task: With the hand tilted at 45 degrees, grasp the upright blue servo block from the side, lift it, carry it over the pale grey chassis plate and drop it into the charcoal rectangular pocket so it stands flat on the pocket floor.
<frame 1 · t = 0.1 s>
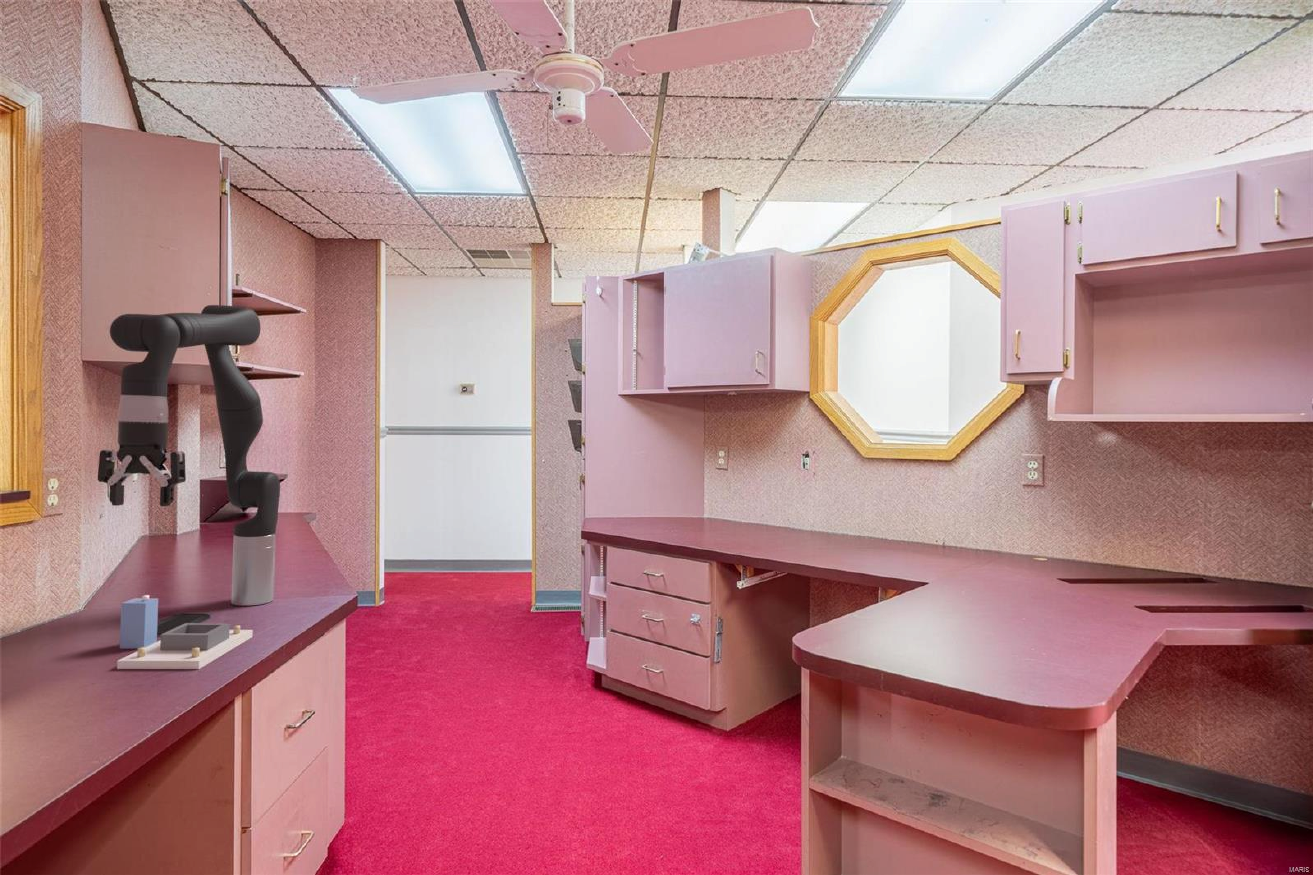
hand: (141, 505, 128), 29 cm above the counter, tool pointing down, fingers open, 8 cm apart
phone: (175, 628, 151), on the counter
servo: (138, 645, 137), on the counter
chassis: (190, 651, 134), on the counter
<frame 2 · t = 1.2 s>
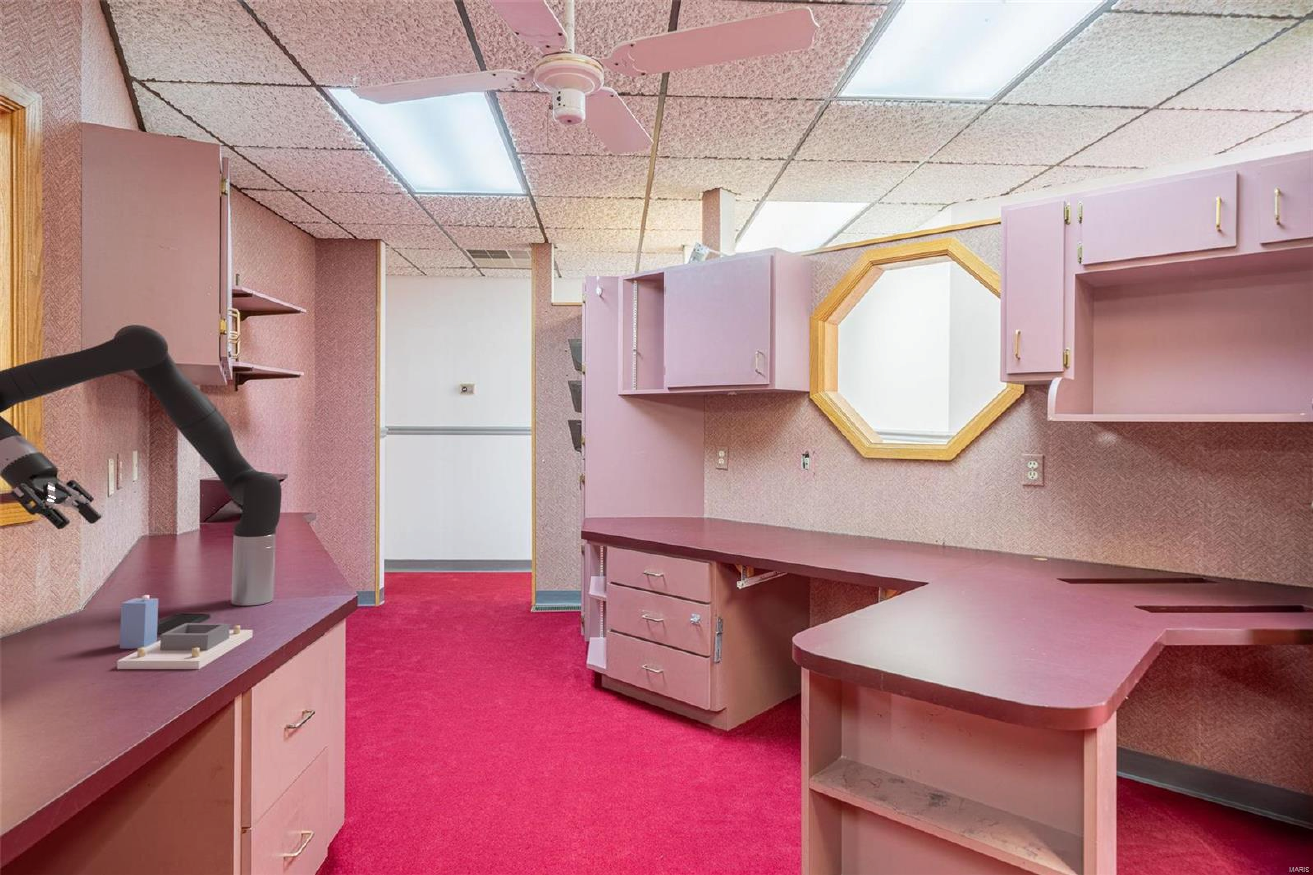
hand: (81, 523, 135), 24 cm above the counter, tool tilted 45°, fingers open, 8 cm apart
nothing on the counter moved.
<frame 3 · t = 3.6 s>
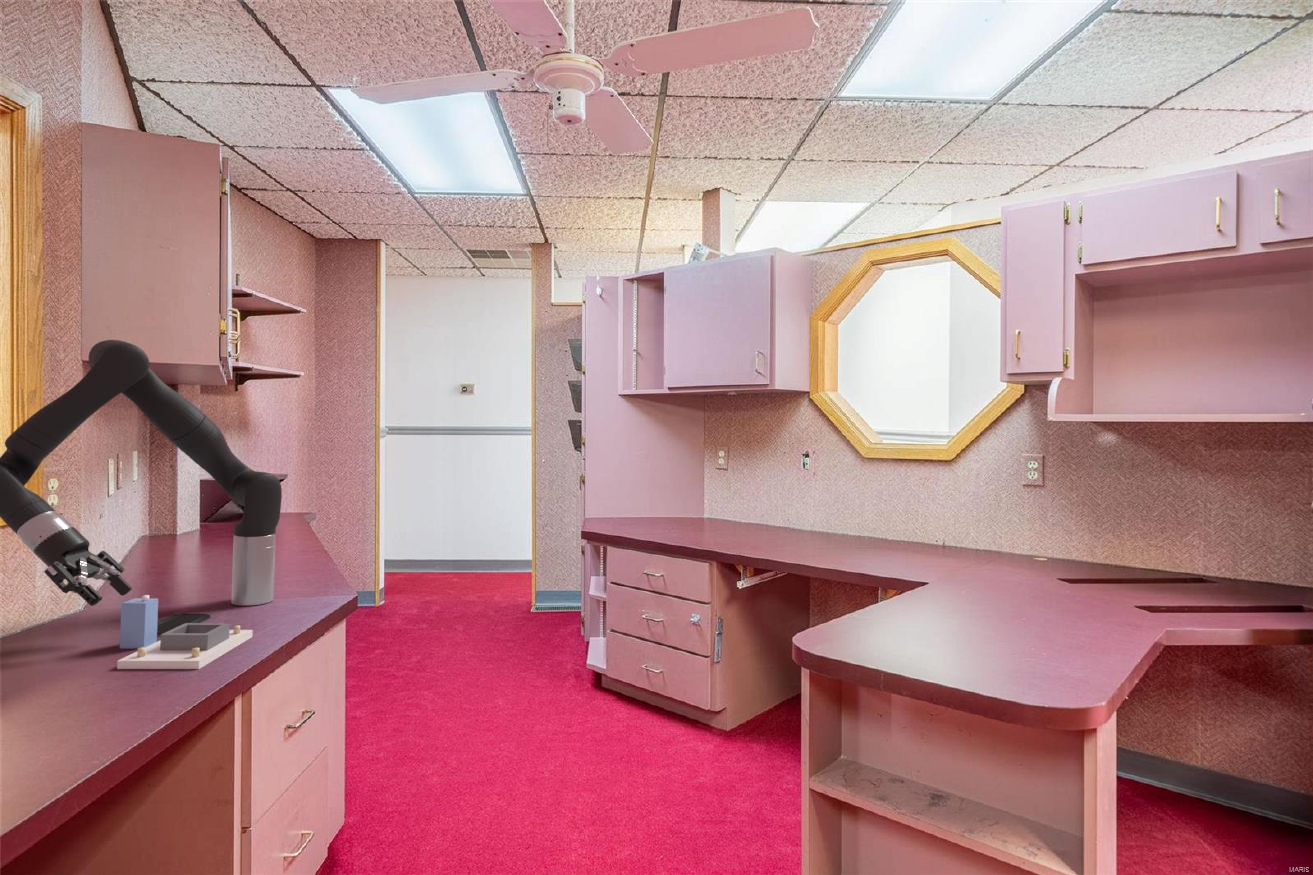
hand: (113, 597, 136), 10 cm above the counter, tool tilted 45°, fingers open, 8 cm apart
nothing on the counter moved.
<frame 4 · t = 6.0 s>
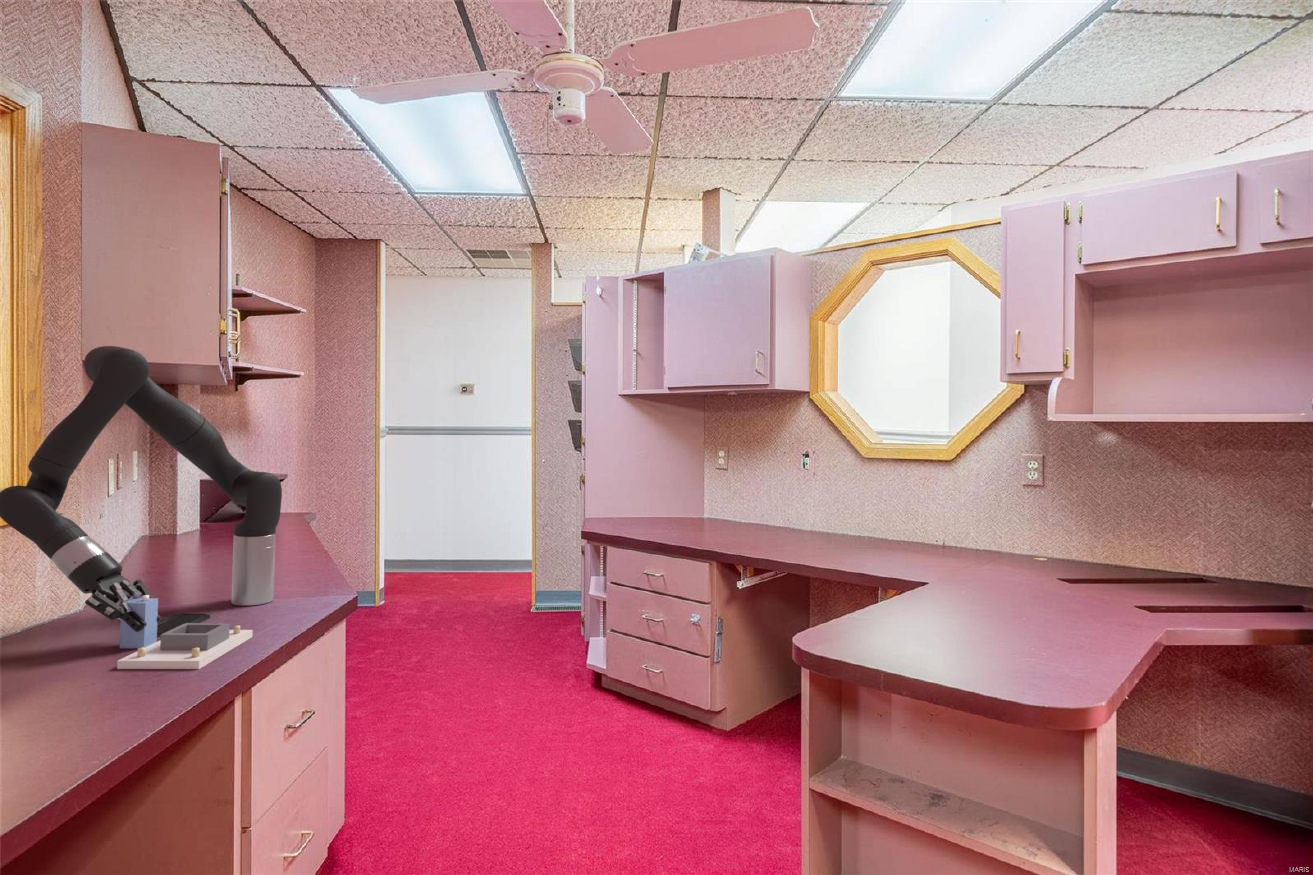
hand: (149, 625, 137), 4 cm above the counter, tool tilted 45°, fingers closed on servo, 4 cm apart
servo: (138, 645, 137), on the counter, touching gripper
everything else where it was.
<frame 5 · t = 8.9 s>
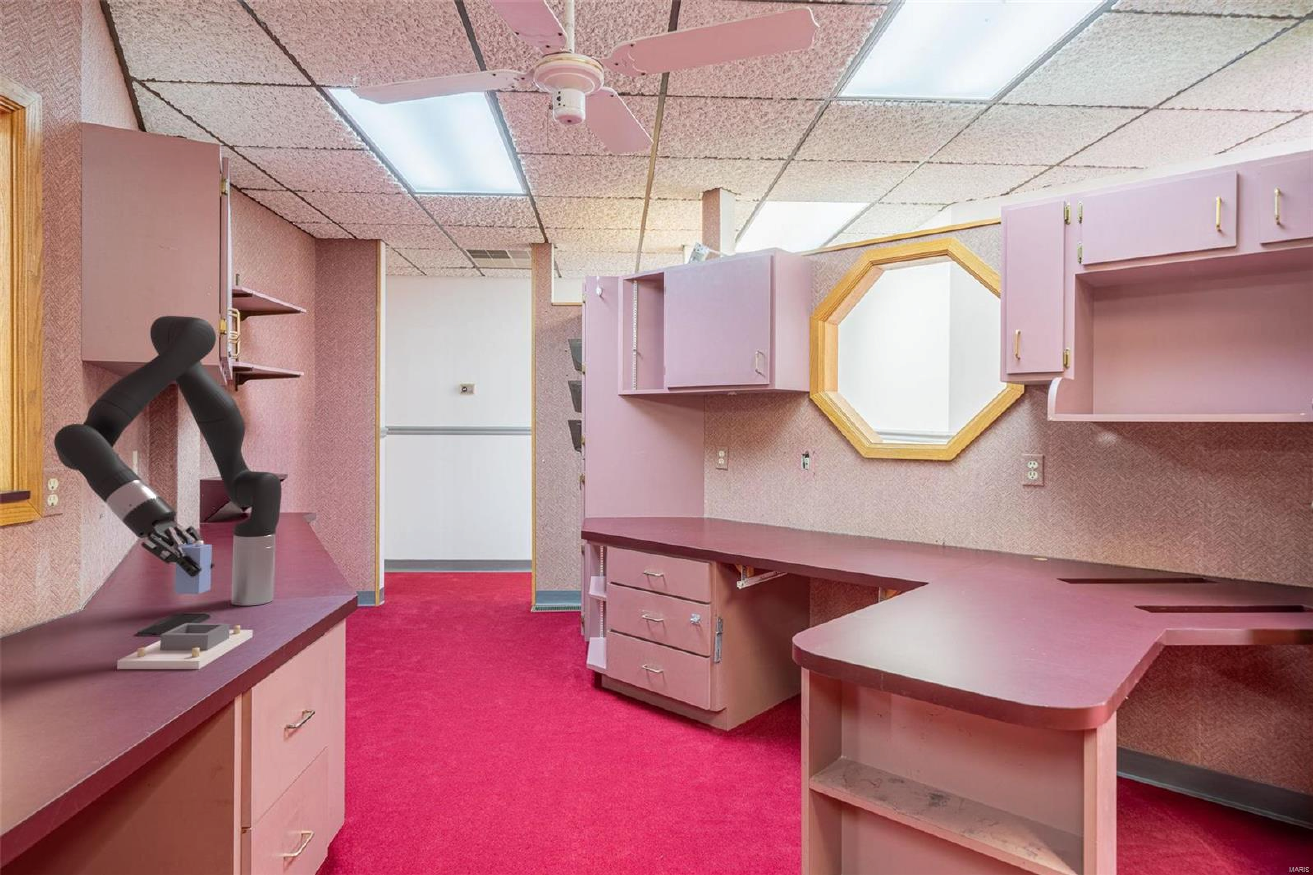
hand: (203, 571, 134), 16 cm above the counter, tool tilted 45°, fingers closed on servo, 4 cm apart
servo: (192, 591, 134), point 12 cm above the counter, touching gripper
everything else where it was.
when the fingers open (7 cm above the counter, at t = 12.0 s): servo drops 1 cm, resting on chassis.
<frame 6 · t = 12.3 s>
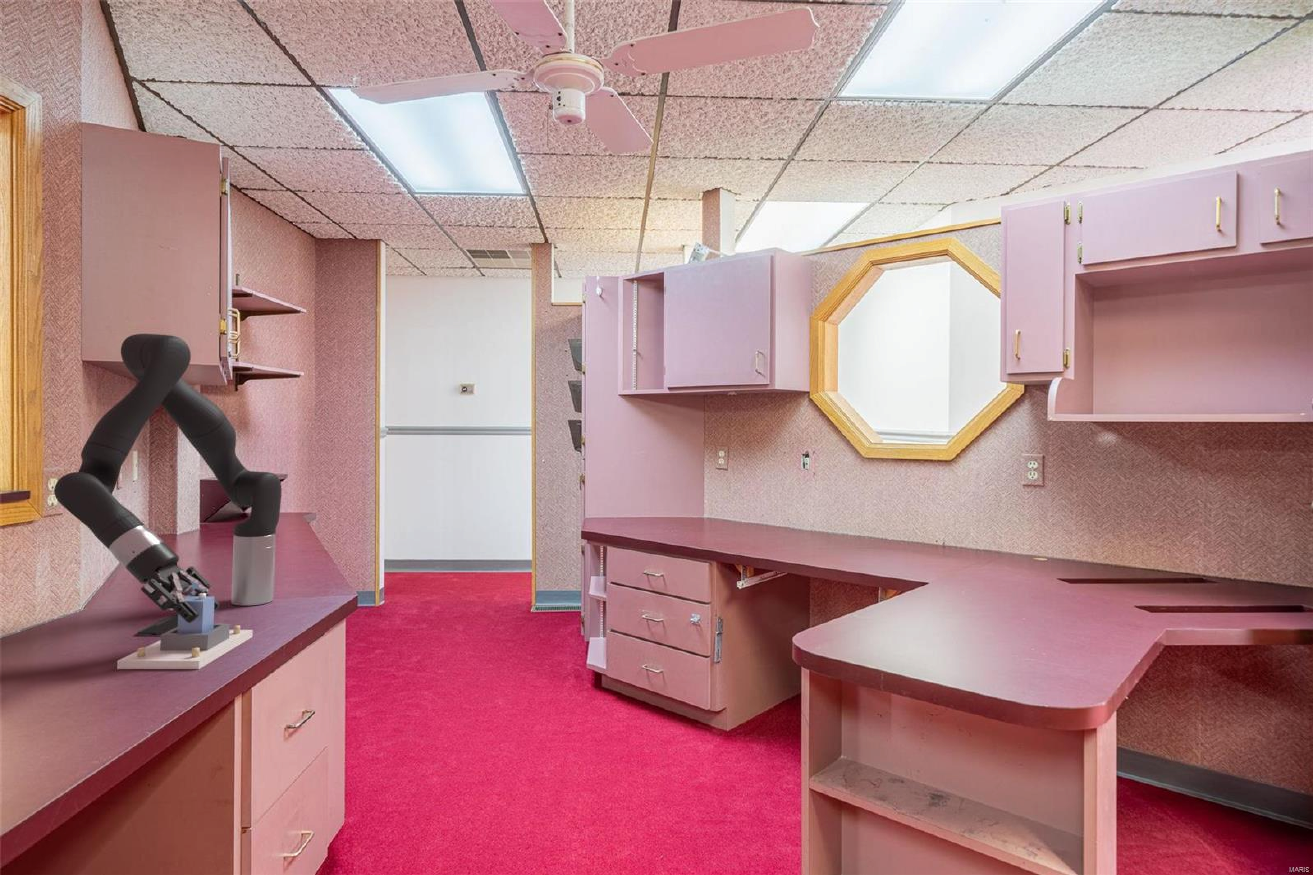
hand: (205, 614, 134), 7 cm above the counter, tool tilted 45°, fingers open, 7 cm apart
servo: (195, 644, 134), point 1 cm above the counter, touching chassis
everything else where it was.
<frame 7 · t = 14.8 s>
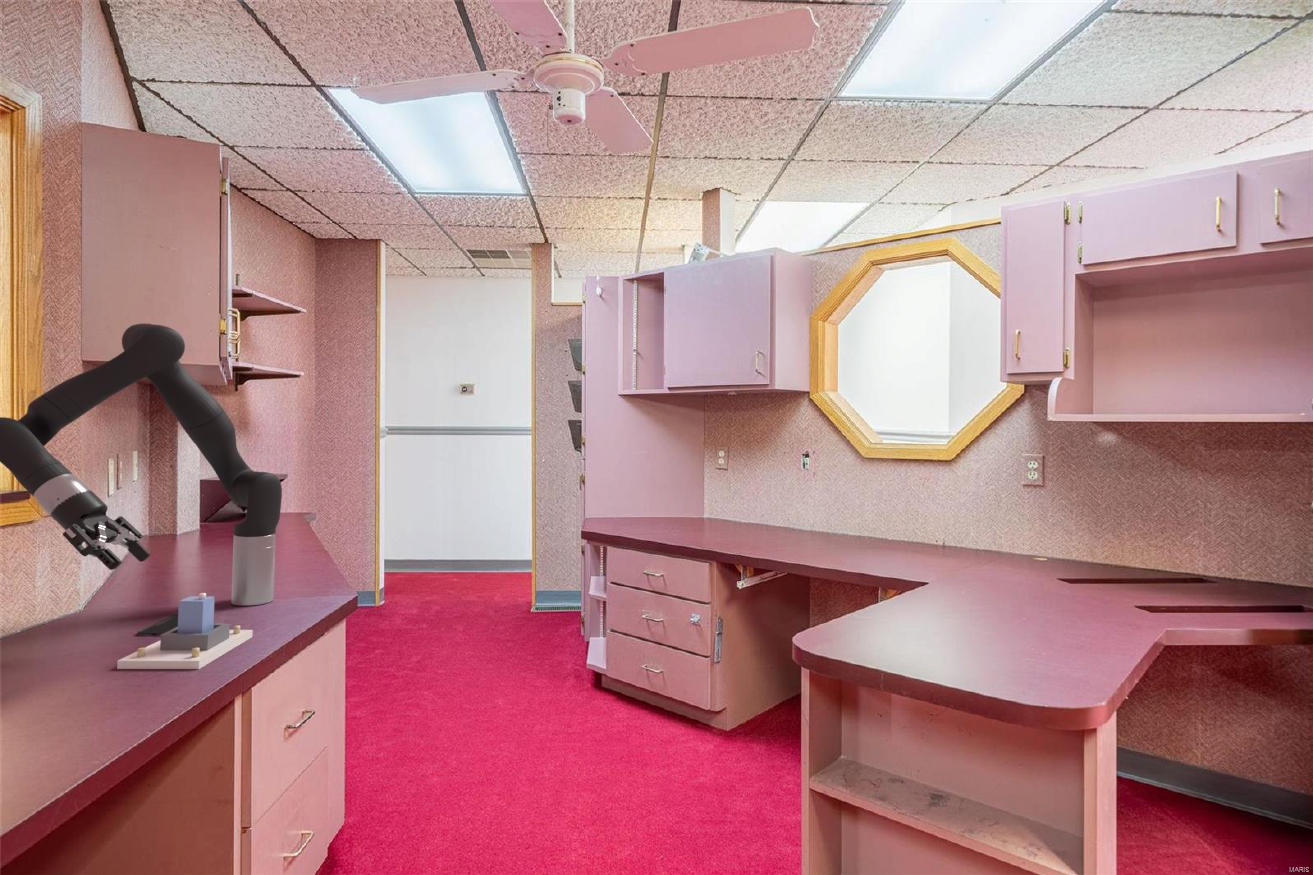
hand: (132, 562, 133), 17 cm above the counter, tool tilted 45°, fingers open, 8 cm apart
nothing on the counter moved.
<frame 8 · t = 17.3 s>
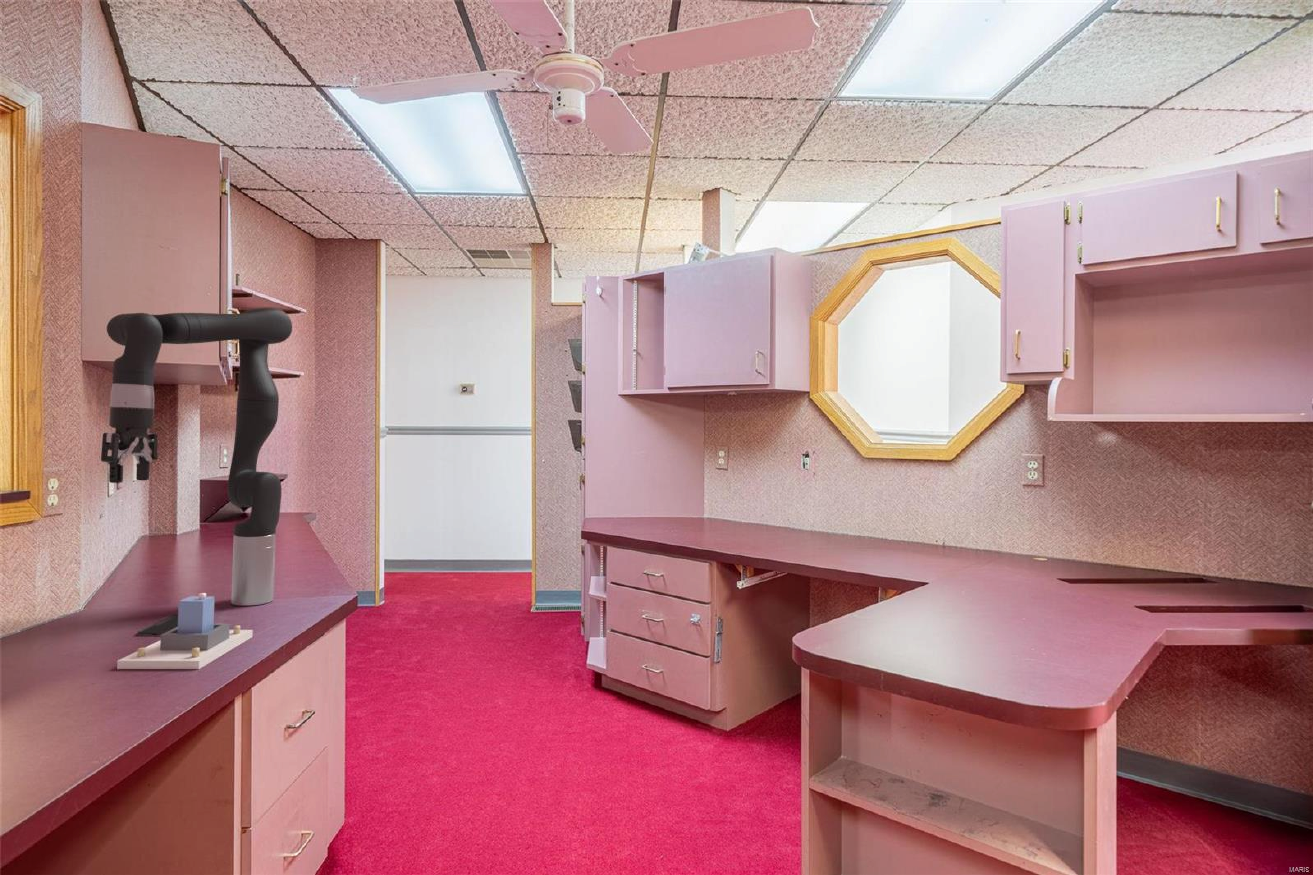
hand: (129, 481, 146), 32 cm above the counter, tool pointing down, fingers open, 8 cm apart
nothing on the counter moved.
at the end: servo 0.1 cm from the target spot on the chassis, point 1.5 cm above the chassis's base; servo tilted 0°; the gripper is holding nothing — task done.
